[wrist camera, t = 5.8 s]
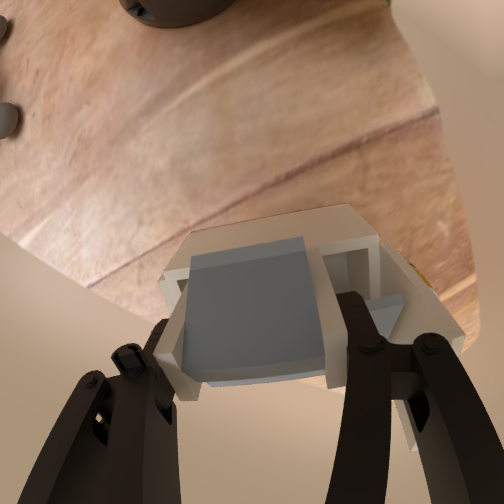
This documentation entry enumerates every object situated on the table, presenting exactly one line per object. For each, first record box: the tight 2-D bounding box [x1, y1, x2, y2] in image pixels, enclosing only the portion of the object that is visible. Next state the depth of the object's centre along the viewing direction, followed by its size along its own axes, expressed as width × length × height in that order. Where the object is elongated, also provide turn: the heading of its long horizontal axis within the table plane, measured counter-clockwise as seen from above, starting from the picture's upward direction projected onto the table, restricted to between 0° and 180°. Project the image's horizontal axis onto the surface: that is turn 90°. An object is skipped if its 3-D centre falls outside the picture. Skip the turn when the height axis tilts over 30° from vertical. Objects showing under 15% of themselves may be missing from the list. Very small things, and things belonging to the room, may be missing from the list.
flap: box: [151, 236, 404, 387], centre depth 18 cm, size 20×17×5 cm
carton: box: [158, 203, 466, 452], centre depth 24 cm, size 14×20×22 cm
